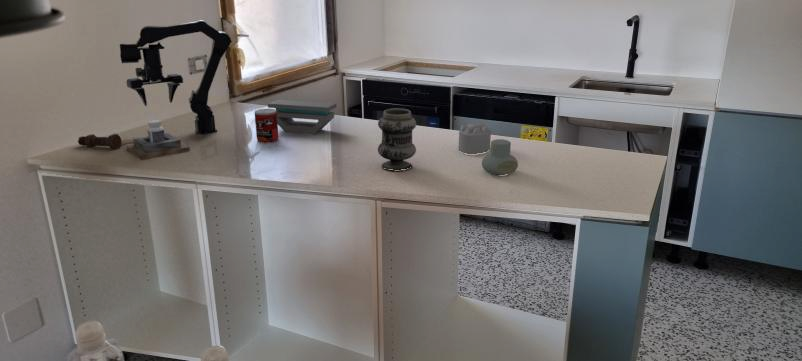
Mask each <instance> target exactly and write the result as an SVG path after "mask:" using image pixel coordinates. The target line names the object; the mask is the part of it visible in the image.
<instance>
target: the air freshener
mask: <svg viewBox="0 0 802 361" xmlns="http://www.w3.org/2000/svg"><path fill="white" fill-rule="evenodd" d="M481 167H482V168H483V170H484V171H485V172H487V173H489V174H490V175H493V174H495V175H494V176H497V175H505V174H508V175H511V174H512V173H515V171H516V170H517V169H518V167H519V162H518V159H516V157H515V156H513V155H512V154H511V141H510V140H507V139H503V138H502V139H501V138H499V139H493V140H492V141H490V151H489V153H487V154H485V156H483V158H482V160H481Z"/></svg>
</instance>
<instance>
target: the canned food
mask: <svg viewBox="0 0 802 361" xmlns="http://www.w3.org/2000/svg"><path fill="white" fill-rule="evenodd" d="M254 122H255V132H256V133H255V135H256V141H257V142H258V143H261V142H262V144H268V143H267V142H271V143H275V142H277V141H278V140H279V125H278V122H277V111H276V108H261V109H257V110H256V109H255V111H254ZM274 141H275V142H274ZM263 142H264V143H263ZM265 142H266V143H265Z"/></svg>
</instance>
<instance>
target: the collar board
mask: <svg viewBox="0 0 802 361" xmlns="http://www.w3.org/2000/svg"><path fill="white" fill-rule="evenodd" d="M164 134H165V141H160V142H154V143H149V138H148V136H142V137H136V138H132V140H133V144H129V145H126V149H127V150H128V151H129V152H131V153H132V154H134V155H135V156H136V157H138V158H139V159H141V160H145V159H146V160H147V159H151V158H156V157H162V156H166V155H173V154H177V153H183V152H188V151H190V146H188V145H186V144H185V143H183V142H181V139H179V138H178V137H176V136H174V135H172V134H171V133H168V132H167V133H165V132H164Z"/></svg>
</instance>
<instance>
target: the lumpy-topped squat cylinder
mask: <svg viewBox="0 0 802 361" xmlns="http://www.w3.org/2000/svg"><path fill="white" fill-rule="evenodd" d="M491 131H492V129H491V127H490V126H486V125H485V124H483V123H474V122H473V123H469V124H467V125H466V124H463V125H461V126H460V129H459V131H458V152H459V151H461V152H463V153H467V154H477V153H483V152H487V151H488V150H489V149H490V150H491V135H492V134H491V133H492V132H491ZM490 150H489V151H490Z"/></svg>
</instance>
